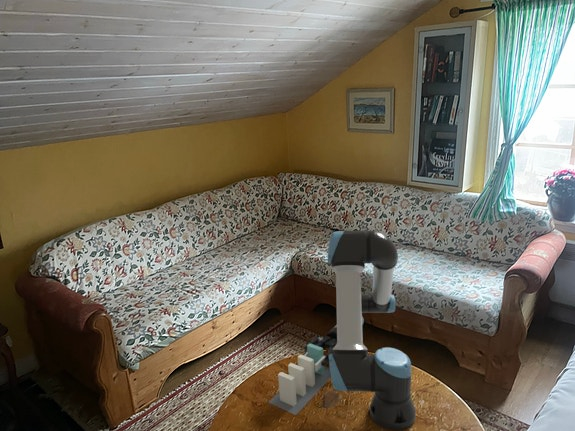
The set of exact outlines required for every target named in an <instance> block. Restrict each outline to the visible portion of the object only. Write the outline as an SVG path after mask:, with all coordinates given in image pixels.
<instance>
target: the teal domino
mask: <svg viewBox="0 0 575 431" xmlns="http://www.w3.org/2000/svg"><path fill="white" fill-rule="evenodd" d="M308 344H309V343H308ZM308 344H306V345H307V351H308V357H309V358H312V359H314V372H315V373H318V374H320V375H322V374H323V373H324V366H322V367H321V368H320V369H319V370H318V371H317V372H316V371H315V364H316V363H317V362H318V361H319V360H320V359H321V358H322V357H323V356H324V349H323V348H321V347H319V346H316V345H313V344H309V345H308Z"/></svg>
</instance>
